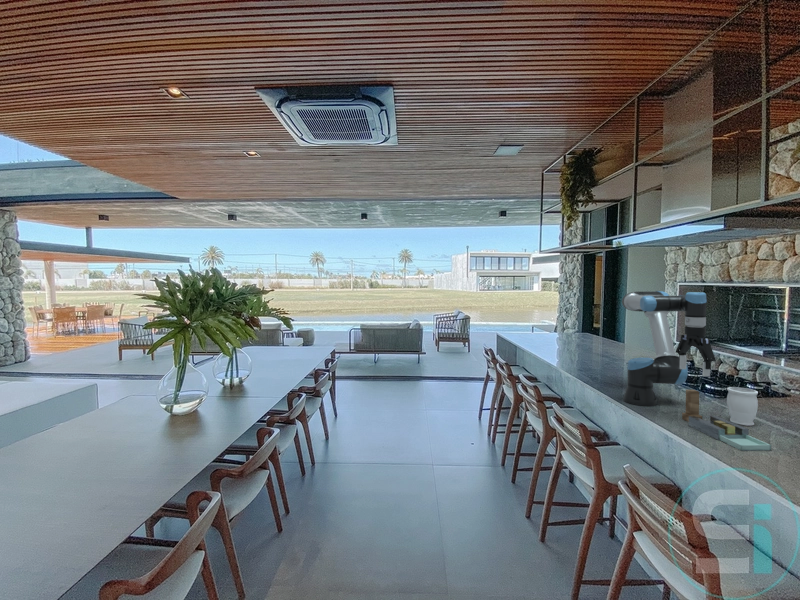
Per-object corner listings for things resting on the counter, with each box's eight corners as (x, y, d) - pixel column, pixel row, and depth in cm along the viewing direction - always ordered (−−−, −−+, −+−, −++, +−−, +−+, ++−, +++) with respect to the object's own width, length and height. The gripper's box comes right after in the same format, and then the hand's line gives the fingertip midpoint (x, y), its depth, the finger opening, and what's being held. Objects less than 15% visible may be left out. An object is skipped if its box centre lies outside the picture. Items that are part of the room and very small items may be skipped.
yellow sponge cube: (721, 431, 158) (721, 424, 158) (728, 431, 158) (728, 424, 158) (727, 434, 155) (727, 426, 155) (735, 434, 155) (735, 426, 155)
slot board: (688, 425, 170) (688, 416, 170) (715, 425, 170) (716, 415, 170) (718, 440, 154) (718, 429, 154) (748, 439, 154) (748, 429, 154)
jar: (763, 427, 166) (764, 393, 166) (736, 426, 169) (736, 392, 168) (746, 419, 177) (747, 387, 176) (721, 418, 179) (721, 386, 178)
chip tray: (719, 440, 154) (719, 435, 154) (747, 439, 154) (747, 434, 154) (741, 450, 144) (741, 445, 144) (771, 450, 144) (771, 445, 144)
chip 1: (713, 427, 162) (713, 420, 162) (720, 427, 162) (720, 420, 162) (719, 430, 159) (719, 423, 159) (726, 430, 159) (726, 423, 159)
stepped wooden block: (682, 419, 178) (682, 389, 178) (693, 418, 178) (694, 389, 178) (690, 422, 173) (690, 392, 173) (702, 422, 173) (702, 392, 173)
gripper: (667, 323, 186) (666, 366, 187) (709, 330, 161) (708, 379, 162) (682, 323, 186) (681, 366, 187) (727, 329, 161) (725, 379, 162)
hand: (694, 372), depth 175 cm, fingers open, 13 cm apart
